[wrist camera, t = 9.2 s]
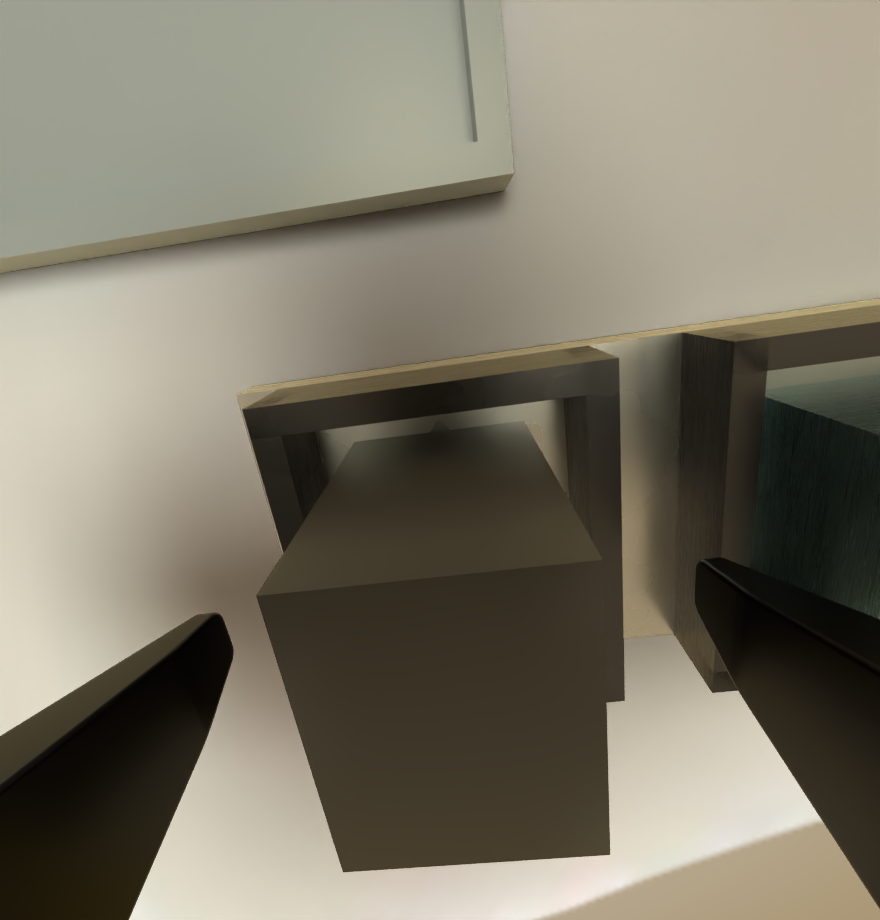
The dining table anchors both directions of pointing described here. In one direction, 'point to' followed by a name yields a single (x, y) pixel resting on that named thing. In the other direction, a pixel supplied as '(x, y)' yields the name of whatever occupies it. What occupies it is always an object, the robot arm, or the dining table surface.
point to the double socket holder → (644, 453)
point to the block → (447, 654)
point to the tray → (238, 117)
